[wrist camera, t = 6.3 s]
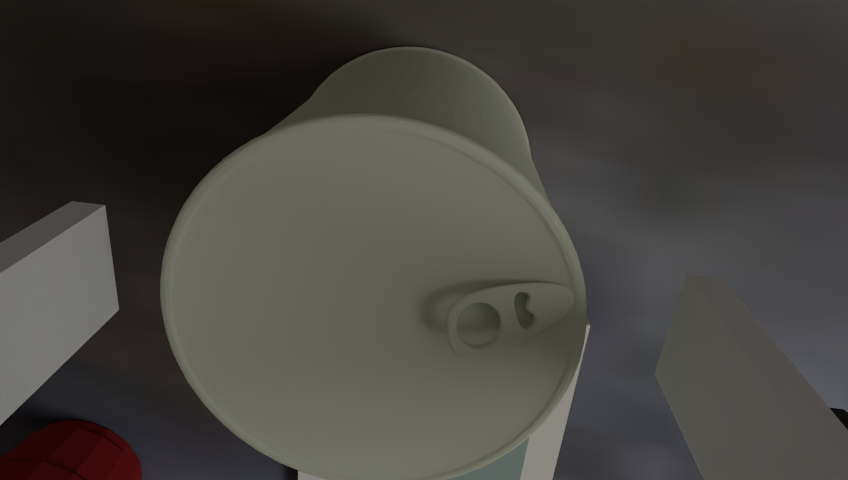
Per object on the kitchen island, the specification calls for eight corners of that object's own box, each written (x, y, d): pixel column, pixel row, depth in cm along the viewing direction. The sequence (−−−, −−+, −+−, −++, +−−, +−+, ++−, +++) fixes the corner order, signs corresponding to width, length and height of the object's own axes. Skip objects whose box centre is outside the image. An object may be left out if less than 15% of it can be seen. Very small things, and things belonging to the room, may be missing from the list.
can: (545, 254, 24) (616, 481, 13) (330, 292, 26) (233, 528, 15) (509, 20, 21) (565, 66, 10) (261, 76, 22) (66, 173, 11)
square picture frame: (301, 491, 30) (296, 506, 29) (305, 283, 25) (300, 293, 25) (537, 519, 30) (539, 534, 29) (586, 315, 25) (590, 326, 25)
